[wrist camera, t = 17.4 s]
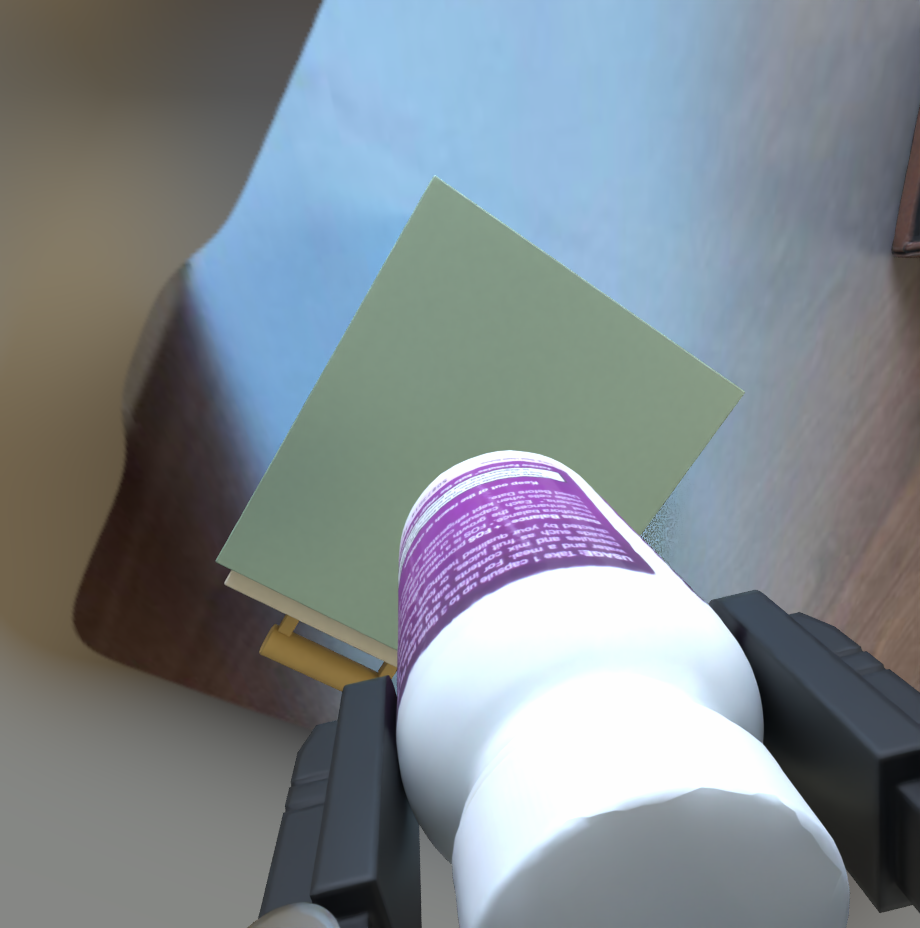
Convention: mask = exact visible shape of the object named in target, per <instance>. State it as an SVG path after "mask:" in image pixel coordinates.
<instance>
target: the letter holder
mask: <svg viewBox="0 0 920 928" xmlns="http://www.w3.org/2000/svg"><path fill="white" fill-rule="evenodd" d="M892 254H893V255H894V256H895V257H901V258H917V257H920V107H919V112H918V118H917V123H916V128H915V133H914V138H913V143H912V148H911V153H910V158H909V163H908V168H907V173H906V178H905V183H904V188H903V193H902V198H901V202H900V208H899V213H898V219H897V224H896V230H895V236H894V241H893V245H892Z"/></svg>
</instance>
